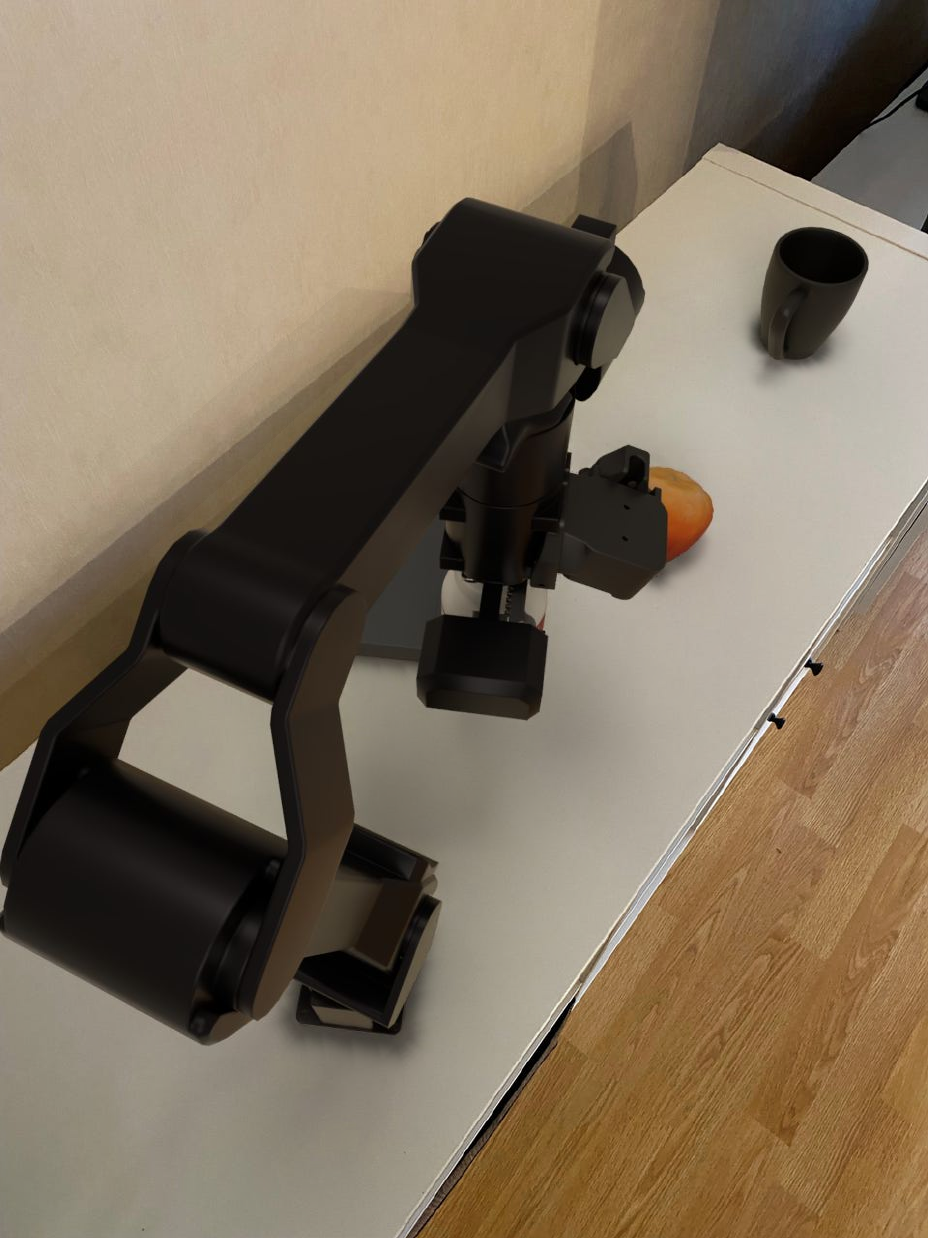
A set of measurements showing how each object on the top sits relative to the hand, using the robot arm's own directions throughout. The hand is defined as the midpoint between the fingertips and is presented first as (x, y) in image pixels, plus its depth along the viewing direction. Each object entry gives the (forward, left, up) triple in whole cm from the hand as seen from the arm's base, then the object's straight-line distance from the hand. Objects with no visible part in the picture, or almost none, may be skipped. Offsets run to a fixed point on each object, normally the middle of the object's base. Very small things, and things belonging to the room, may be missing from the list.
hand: (492, 631), depth 59 cm
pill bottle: (0, 0, -4) cm, 4 cm away
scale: (+12, +5, -13) cm, 18 cm away
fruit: (+19, -12, -13) cm, 26 cm away
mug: (+43, -24, -13) cm, 51 cm away
